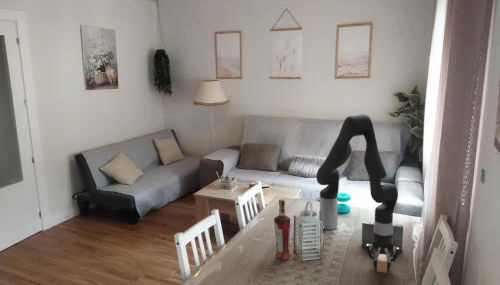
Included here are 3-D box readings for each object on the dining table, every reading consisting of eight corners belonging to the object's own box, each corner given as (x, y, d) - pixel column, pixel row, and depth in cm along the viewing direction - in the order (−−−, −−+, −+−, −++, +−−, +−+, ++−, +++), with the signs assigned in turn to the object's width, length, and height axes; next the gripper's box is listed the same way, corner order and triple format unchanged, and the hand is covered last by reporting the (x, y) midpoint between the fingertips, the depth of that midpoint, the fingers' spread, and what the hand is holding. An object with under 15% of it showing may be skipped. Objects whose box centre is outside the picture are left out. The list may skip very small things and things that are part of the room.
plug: (376, 271, 155) (377, 260, 154) (376, 249, 174) (377, 239, 173) (386, 272, 154) (387, 261, 153) (385, 250, 173) (386, 240, 172)
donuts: (334, 197, 216) (332, 192, 225) (334, 213, 218) (332, 207, 227) (352, 197, 215) (349, 191, 224) (351, 213, 217) (348, 207, 226)
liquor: (272, 256, 171) (270, 198, 166) (286, 252, 174) (285, 196, 169) (279, 263, 165) (278, 204, 159) (294, 259, 167) (293, 201, 162)
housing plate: (361, 246, 177) (362, 223, 175) (361, 244, 179) (362, 221, 177) (402, 251, 171) (403, 226, 169) (401, 249, 173) (402, 225, 171)
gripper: (365, 232, 152) (364, 270, 156) (402, 236, 148) (400, 275, 151) (365, 225, 159) (364, 262, 163) (401, 228, 155) (399, 266, 158)
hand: (381, 268), depth 157 cm, fingers closed on plug, 4 cm apart
